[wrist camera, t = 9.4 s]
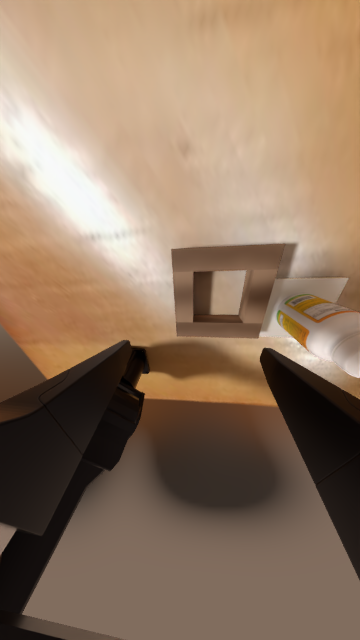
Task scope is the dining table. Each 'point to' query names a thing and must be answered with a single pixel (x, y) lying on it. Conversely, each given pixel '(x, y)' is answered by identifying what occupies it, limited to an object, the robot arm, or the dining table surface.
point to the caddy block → (254, 297)
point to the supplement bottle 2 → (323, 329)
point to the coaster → (291, 286)
